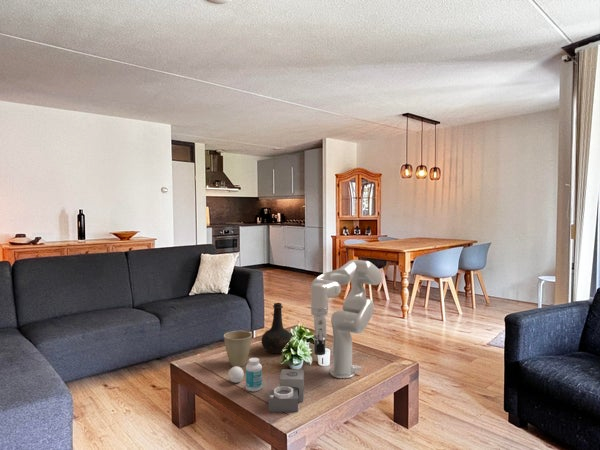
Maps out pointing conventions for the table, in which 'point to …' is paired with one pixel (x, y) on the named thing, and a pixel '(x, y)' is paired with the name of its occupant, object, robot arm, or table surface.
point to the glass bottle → (276, 333)
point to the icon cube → (293, 381)
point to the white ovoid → (236, 374)
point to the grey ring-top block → (283, 399)
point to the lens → (316, 345)
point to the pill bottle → (253, 375)
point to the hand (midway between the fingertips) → (319, 349)
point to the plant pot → (237, 346)
